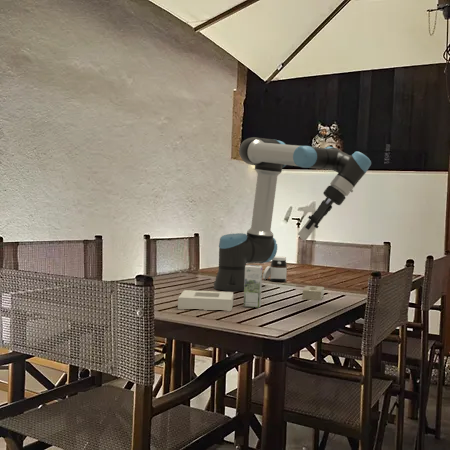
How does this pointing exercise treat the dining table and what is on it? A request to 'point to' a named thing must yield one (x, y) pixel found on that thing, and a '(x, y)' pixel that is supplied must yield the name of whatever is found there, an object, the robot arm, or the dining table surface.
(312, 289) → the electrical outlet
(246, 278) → the syrup box
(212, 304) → the holder block
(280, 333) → the dining table surface
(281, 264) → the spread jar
